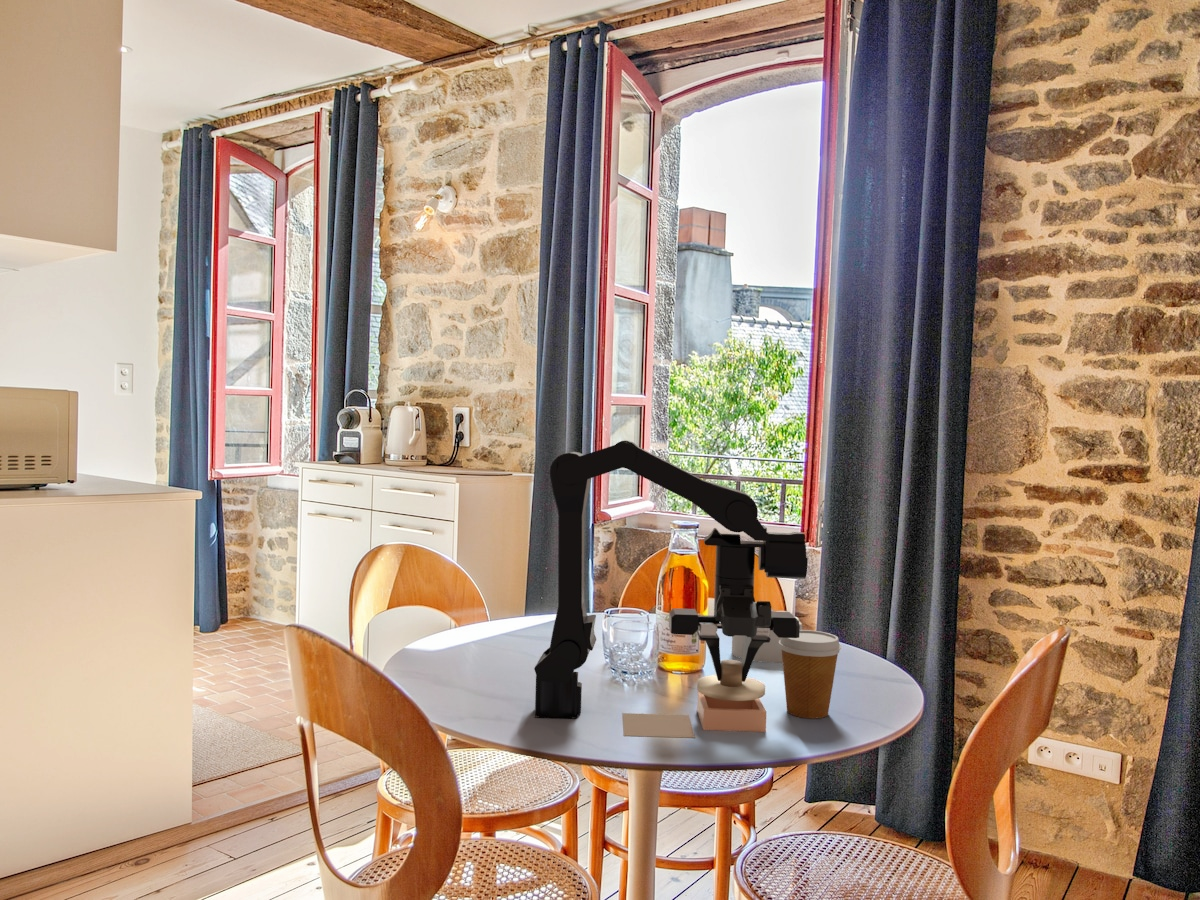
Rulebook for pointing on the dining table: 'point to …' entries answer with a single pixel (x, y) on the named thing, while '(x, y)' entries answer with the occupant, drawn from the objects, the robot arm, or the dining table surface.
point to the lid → (731, 684)
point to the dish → (731, 714)
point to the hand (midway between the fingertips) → (731, 680)
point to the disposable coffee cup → (809, 672)
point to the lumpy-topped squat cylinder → (762, 647)
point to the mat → (657, 725)
